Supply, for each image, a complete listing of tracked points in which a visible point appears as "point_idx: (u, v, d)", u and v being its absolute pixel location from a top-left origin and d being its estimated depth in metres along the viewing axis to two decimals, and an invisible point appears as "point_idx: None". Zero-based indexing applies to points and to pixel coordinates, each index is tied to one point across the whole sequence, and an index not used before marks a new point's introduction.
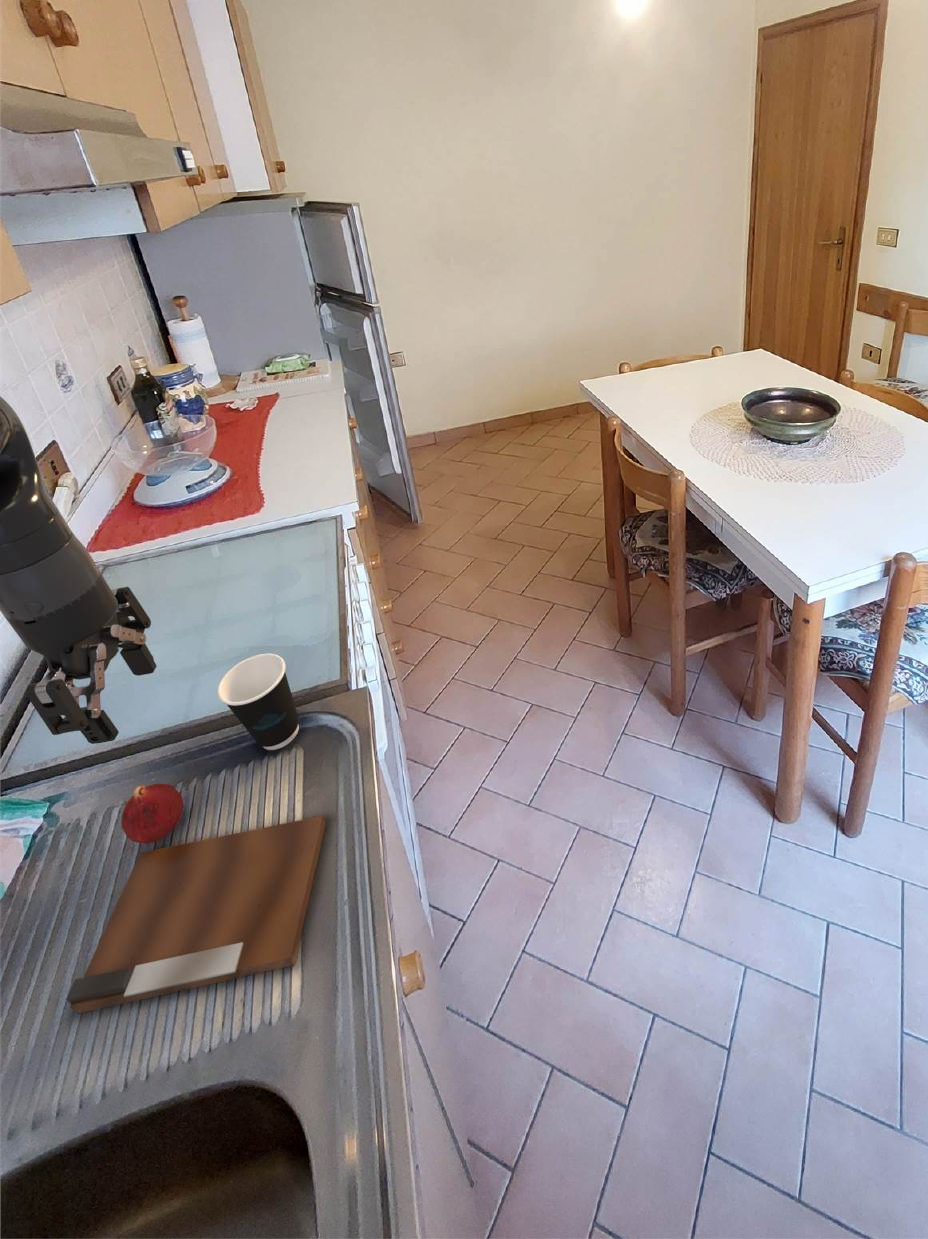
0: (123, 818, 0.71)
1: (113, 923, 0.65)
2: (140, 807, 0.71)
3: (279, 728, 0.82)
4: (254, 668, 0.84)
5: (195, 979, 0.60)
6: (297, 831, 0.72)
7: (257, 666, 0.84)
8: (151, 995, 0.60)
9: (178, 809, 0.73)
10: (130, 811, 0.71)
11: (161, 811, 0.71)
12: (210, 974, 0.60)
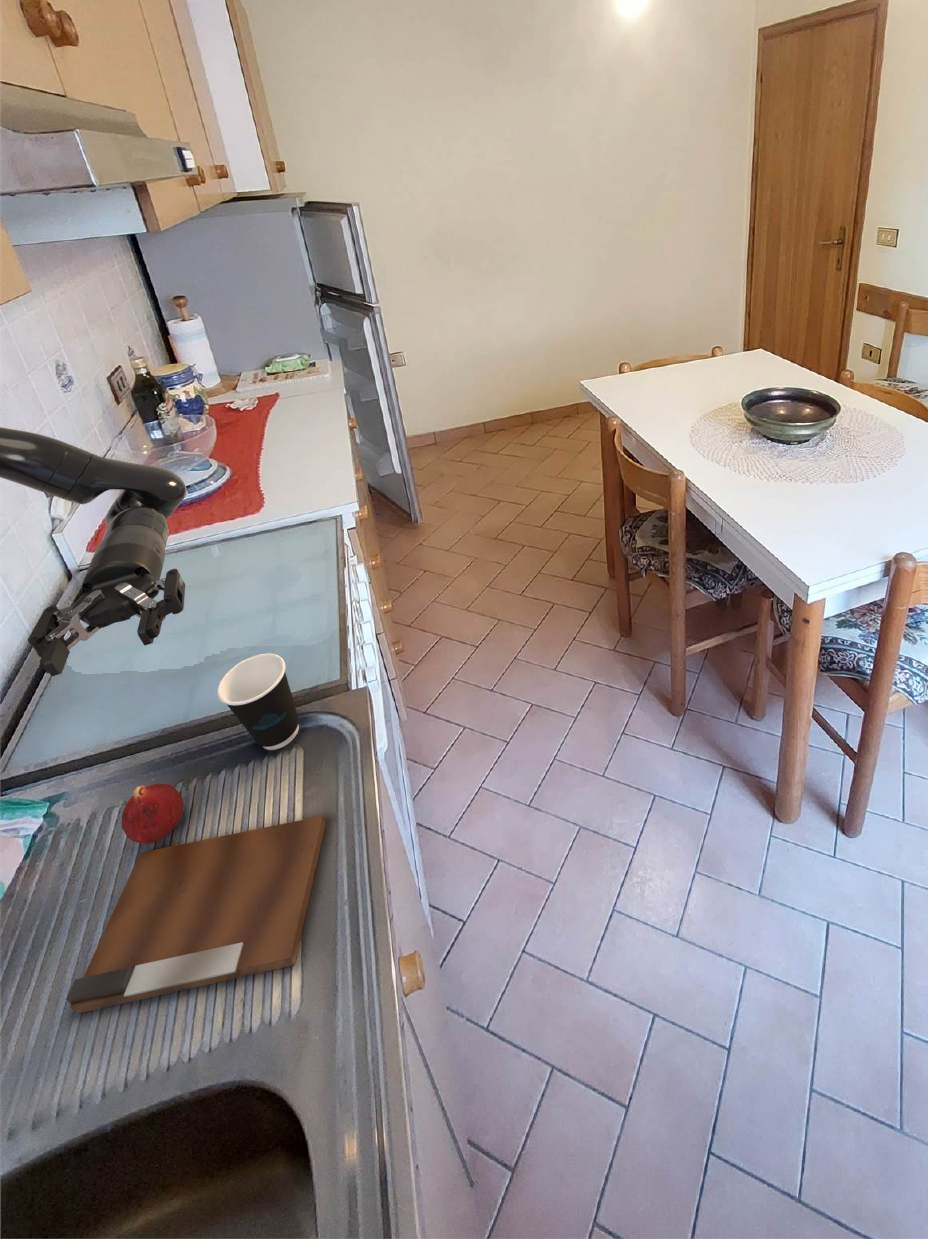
0: (123, 818, 0.71)
1: (113, 923, 0.65)
2: (140, 807, 0.71)
3: (279, 727, 0.82)
4: (254, 668, 0.84)
5: (195, 979, 0.60)
6: (297, 831, 0.72)
7: (257, 666, 0.84)
8: (151, 995, 0.60)
9: (178, 809, 0.73)
10: (130, 810, 0.71)
11: (161, 811, 0.71)
12: (210, 974, 0.60)
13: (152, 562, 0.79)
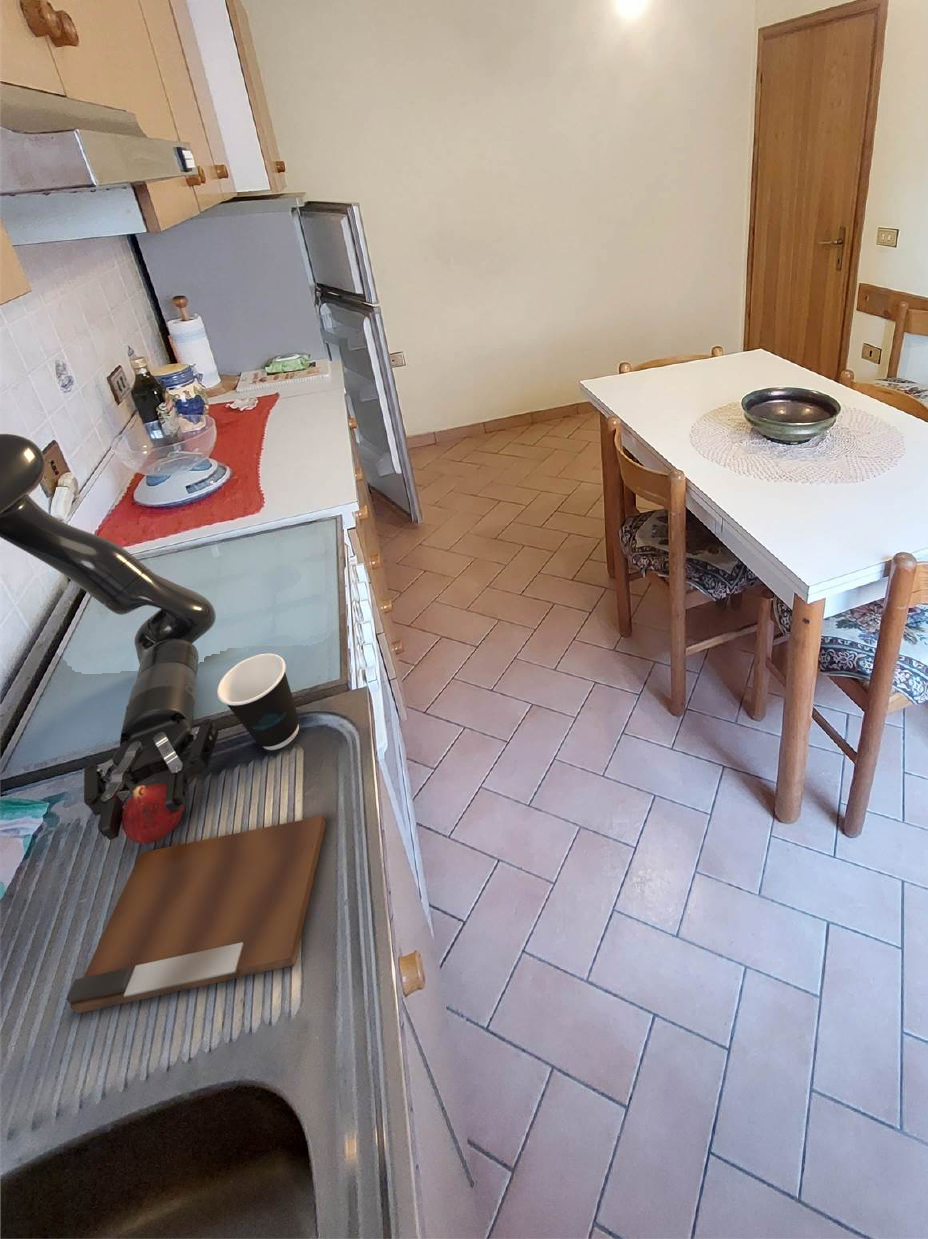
0: (123, 818, 0.71)
1: (113, 923, 0.65)
2: (140, 807, 0.71)
3: (279, 728, 0.82)
4: (254, 668, 0.84)
5: (195, 979, 0.60)
6: (297, 831, 0.72)
7: (257, 666, 0.84)
8: (151, 995, 0.60)
9: None
10: (130, 811, 0.71)
11: (161, 811, 0.71)
12: (210, 974, 0.60)
13: (187, 705, 0.82)
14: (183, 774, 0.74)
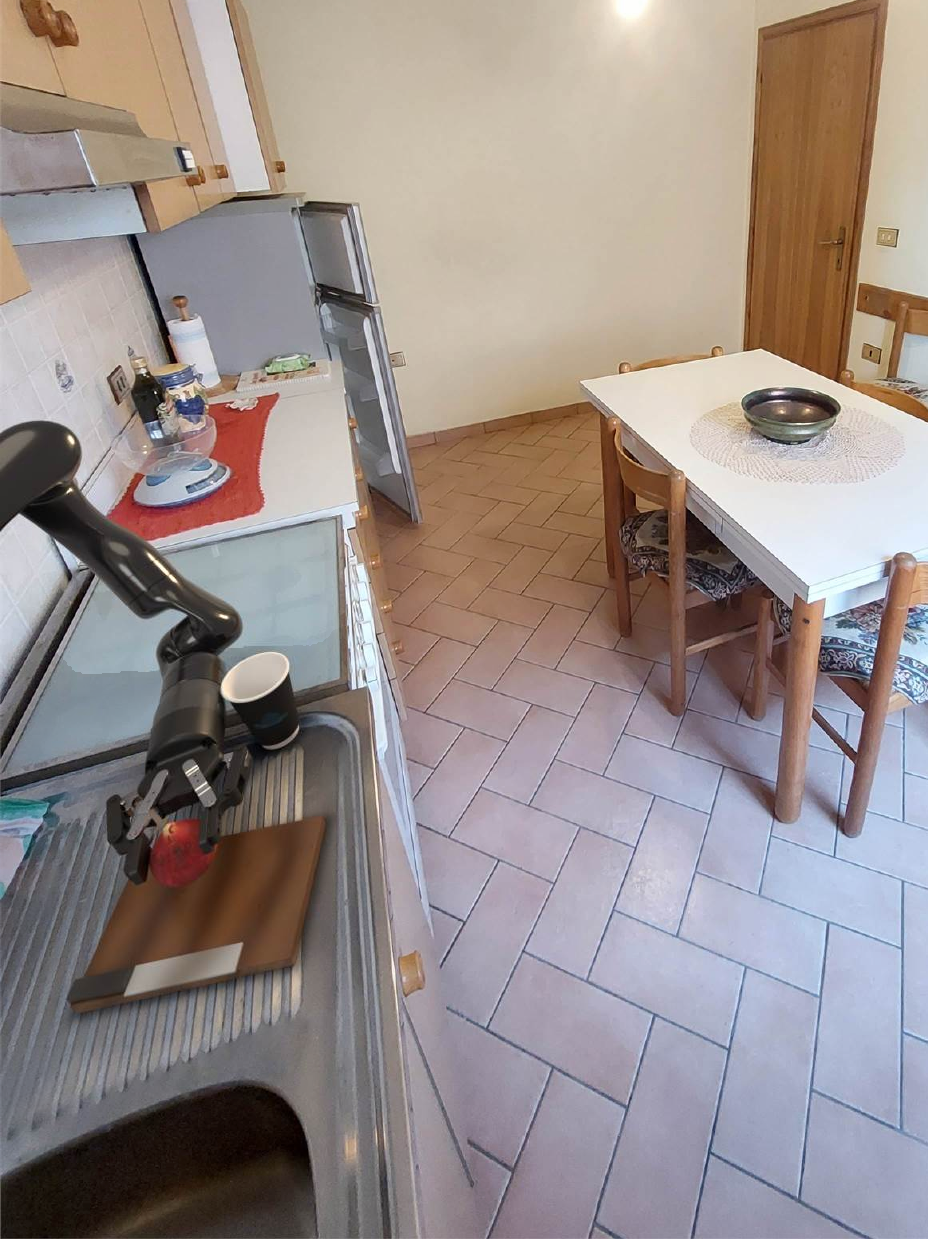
0: (151, 859, 0.63)
1: (113, 923, 0.65)
2: (170, 847, 0.63)
3: (280, 727, 0.82)
4: (257, 666, 0.84)
5: (195, 979, 0.60)
6: (297, 831, 0.72)
7: (260, 664, 0.84)
8: (151, 995, 0.60)
9: None
10: (160, 851, 0.63)
11: (194, 851, 0.64)
12: (210, 974, 0.60)
13: (217, 727, 0.74)
14: (217, 808, 0.66)
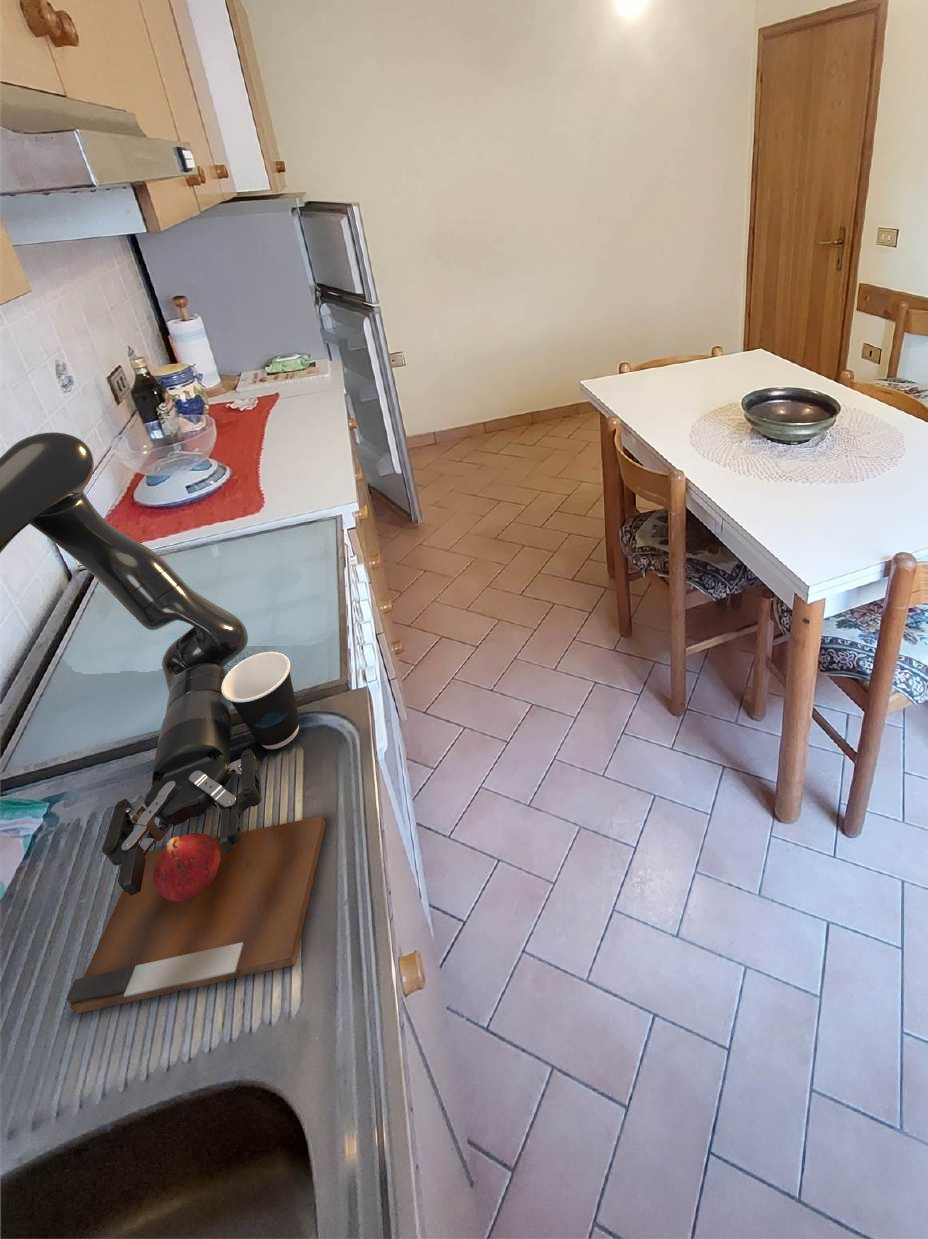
0: (155, 874, 0.64)
1: (113, 923, 0.65)
2: (174, 862, 0.64)
3: (280, 726, 0.82)
4: (258, 666, 0.84)
5: (195, 979, 0.60)
6: (297, 831, 0.72)
7: (261, 664, 0.84)
8: (151, 995, 0.60)
9: (215, 863, 0.66)
10: (163, 866, 0.63)
11: (197, 866, 0.64)
12: (210, 974, 0.60)
13: (223, 738, 0.75)
14: (239, 806, 0.68)
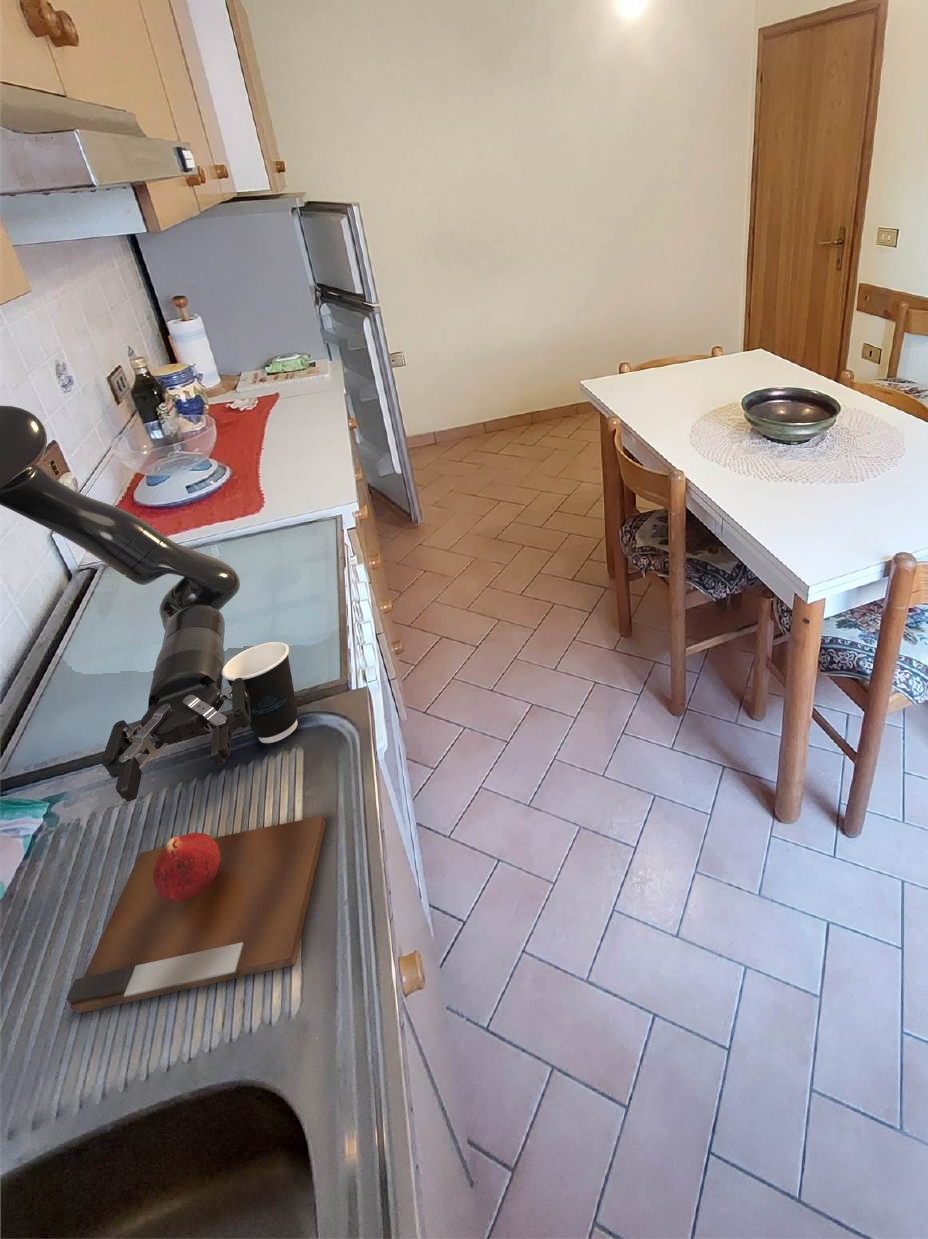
0: (155, 874, 0.64)
1: (113, 923, 0.65)
2: (174, 861, 0.64)
3: (277, 715, 0.82)
4: (259, 657, 0.86)
5: (195, 979, 0.60)
6: (297, 831, 0.72)
7: (262, 655, 0.86)
8: (151, 995, 0.60)
9: (215, 863, 0.66)
10: (163, 866, 0.63)
11: (197, 866, 0.64)
12: (210, 974, 0.60)
13: (215, 669, 0.80)
14: (229, 725, 0.72)
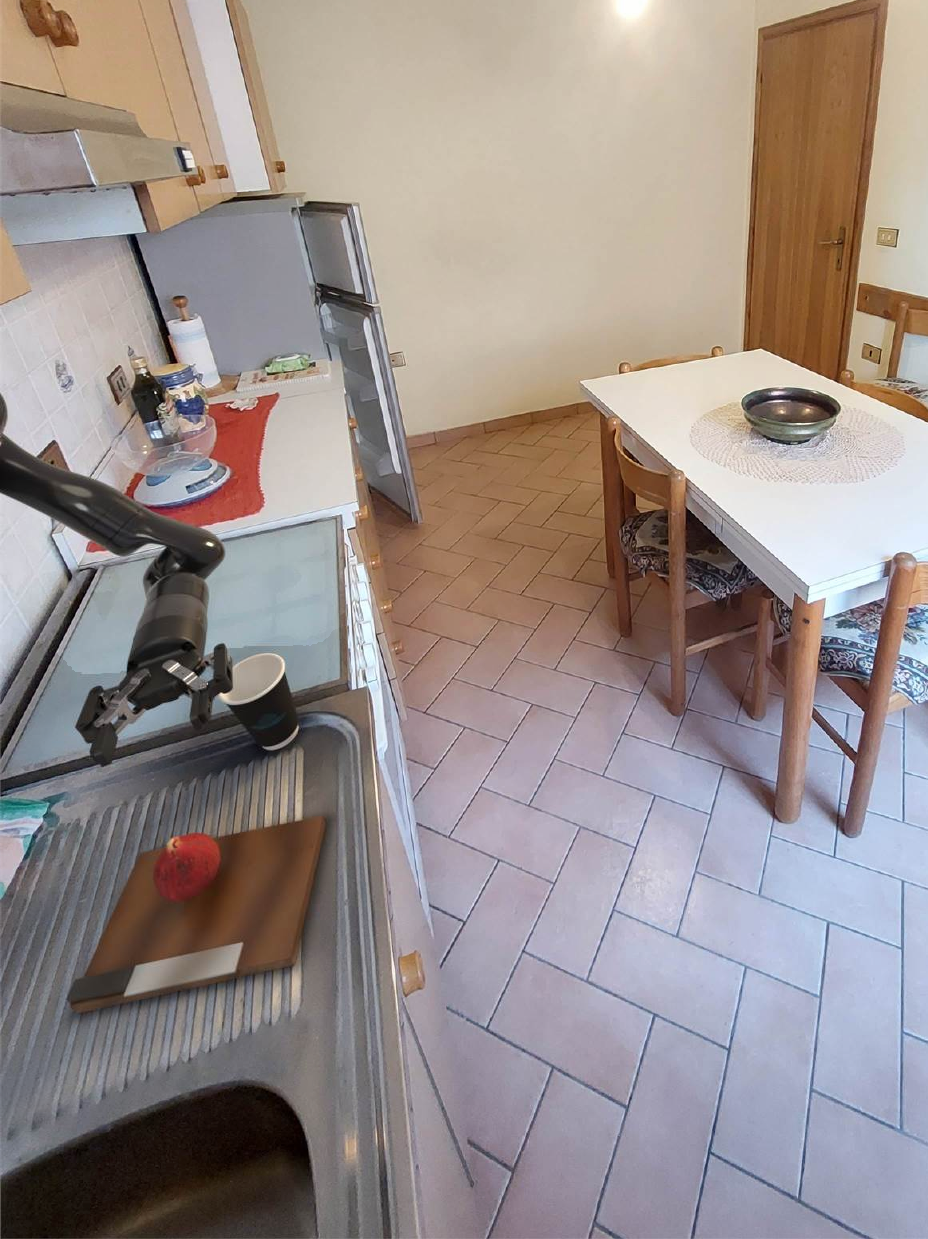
0: (155, 874, 0.64)
1: (113, 923, 0.65)
2: (174, 861, 0.64)
3: (278, 728, 0.82)
4: (254, 668, 0.84)
5: (195, 979, 0.60)
6: (297, 831, 0.72)
7: (257, 666, 0.84)
8: (151, 995, 0.60)
9: (215, 863, 0.66)
10: (163, 866, 0.63)
11: (197, 866, 0.64)
12: (210, 974, 0.60)
13: (197, 635, 0.77)
14: (210, 690, 0.70)
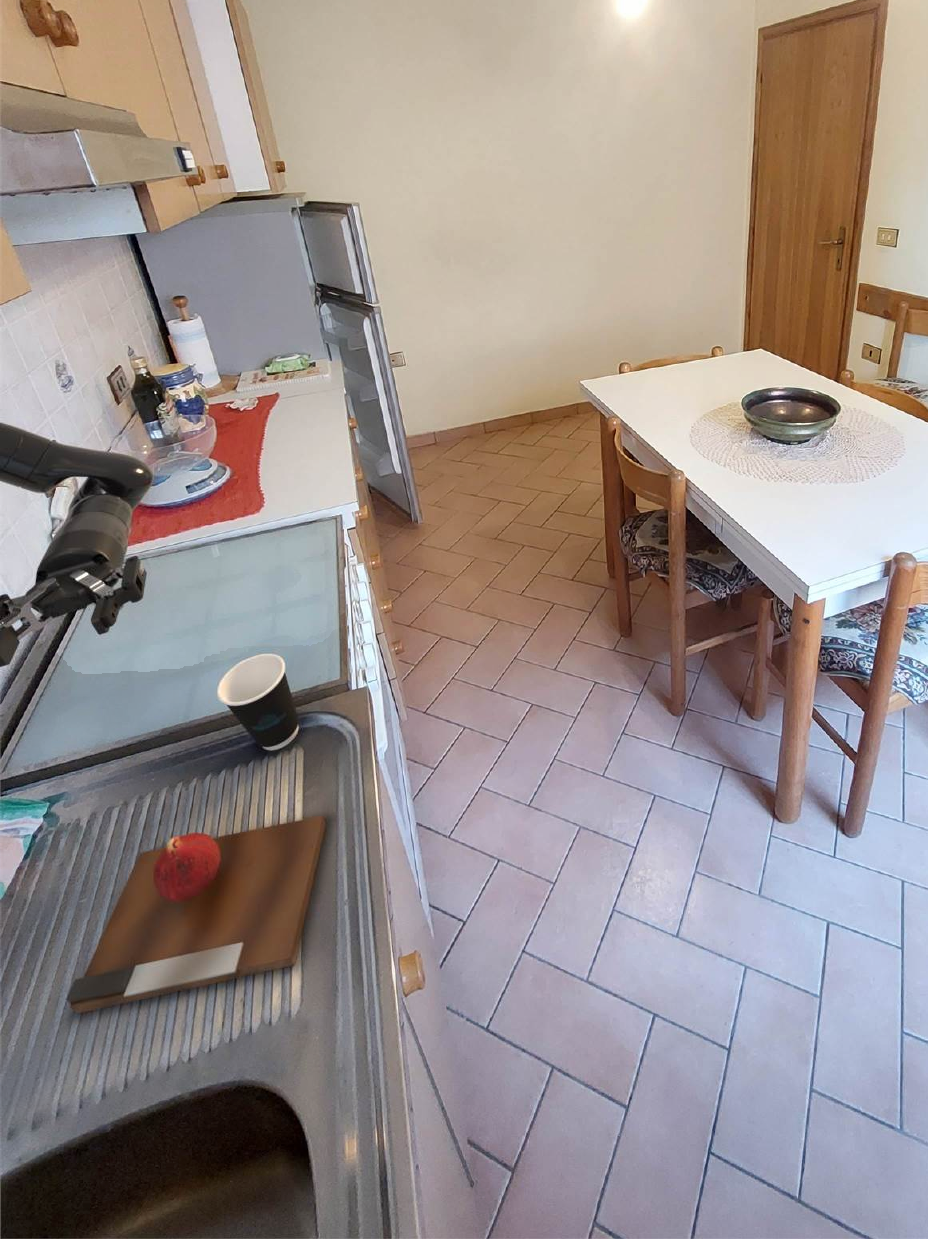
0: (155, 874, 0.64)
1: (113, 923, 0.65)
2: (174, 861, 0.64)
3: (278, 728, 0.82)
4: (254, 668, 0.84)
5: (195, 979, 0.60)
6: (297, 831, 0.72)
7: (257, 666, 0.84)
8: (151, 995, 0.60)
9: (215, 863, 0.66)
10: (163, 866, 0.63)
11: (197, 866, 0.64)
12: (210, 974, 0.60)
13: (112, 550, 0.76)
14: (116, 596, 0.69)
